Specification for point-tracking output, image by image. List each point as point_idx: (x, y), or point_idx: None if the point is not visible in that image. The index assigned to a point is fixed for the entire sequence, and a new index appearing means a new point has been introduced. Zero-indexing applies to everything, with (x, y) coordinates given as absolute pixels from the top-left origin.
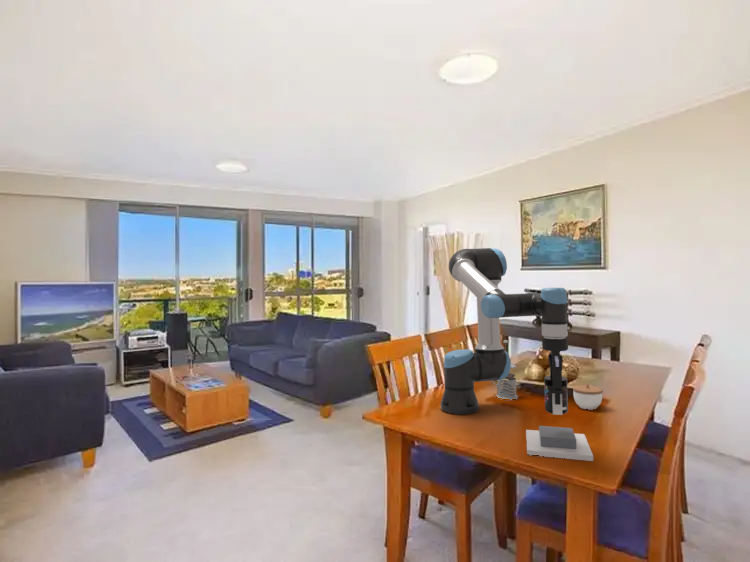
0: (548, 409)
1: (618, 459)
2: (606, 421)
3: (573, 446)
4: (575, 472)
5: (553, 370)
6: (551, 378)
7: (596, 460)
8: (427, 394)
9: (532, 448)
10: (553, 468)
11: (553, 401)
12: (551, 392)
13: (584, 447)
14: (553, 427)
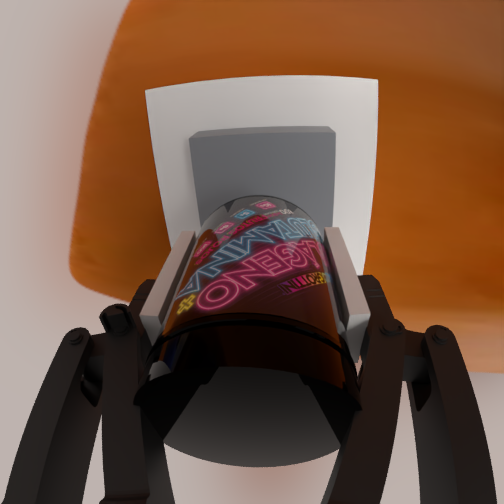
0: (210, 217)
1: None
2: (476, 321)
3: None
4: (94, 224)
5: (11, 479)
6: (221, 413)
7: None
8: None
9: (166, 105)
10: (90, 173)
11: (161, 279)
12: (105, 315)
13: None
14: (324, 192)
